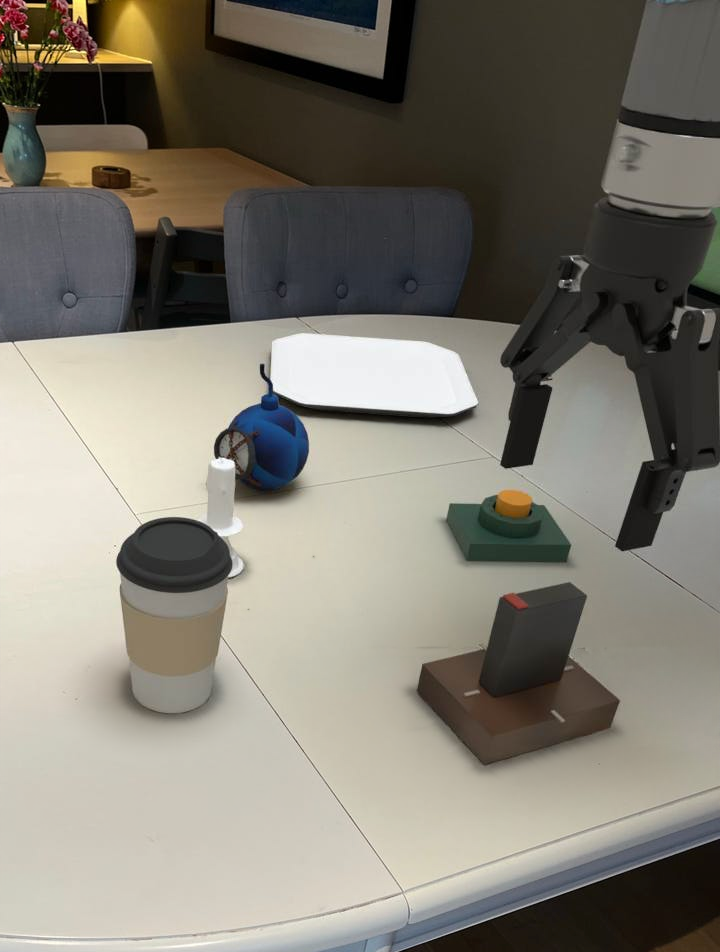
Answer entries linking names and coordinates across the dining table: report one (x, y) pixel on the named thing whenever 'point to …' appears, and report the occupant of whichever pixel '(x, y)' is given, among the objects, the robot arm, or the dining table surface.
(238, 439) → the bomb
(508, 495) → the button
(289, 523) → the dining table surface
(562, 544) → the box
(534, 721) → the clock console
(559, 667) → the dark grey block
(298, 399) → the plate
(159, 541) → the coffee cup
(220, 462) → the candle
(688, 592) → the dining table surface
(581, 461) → the dining table surface
